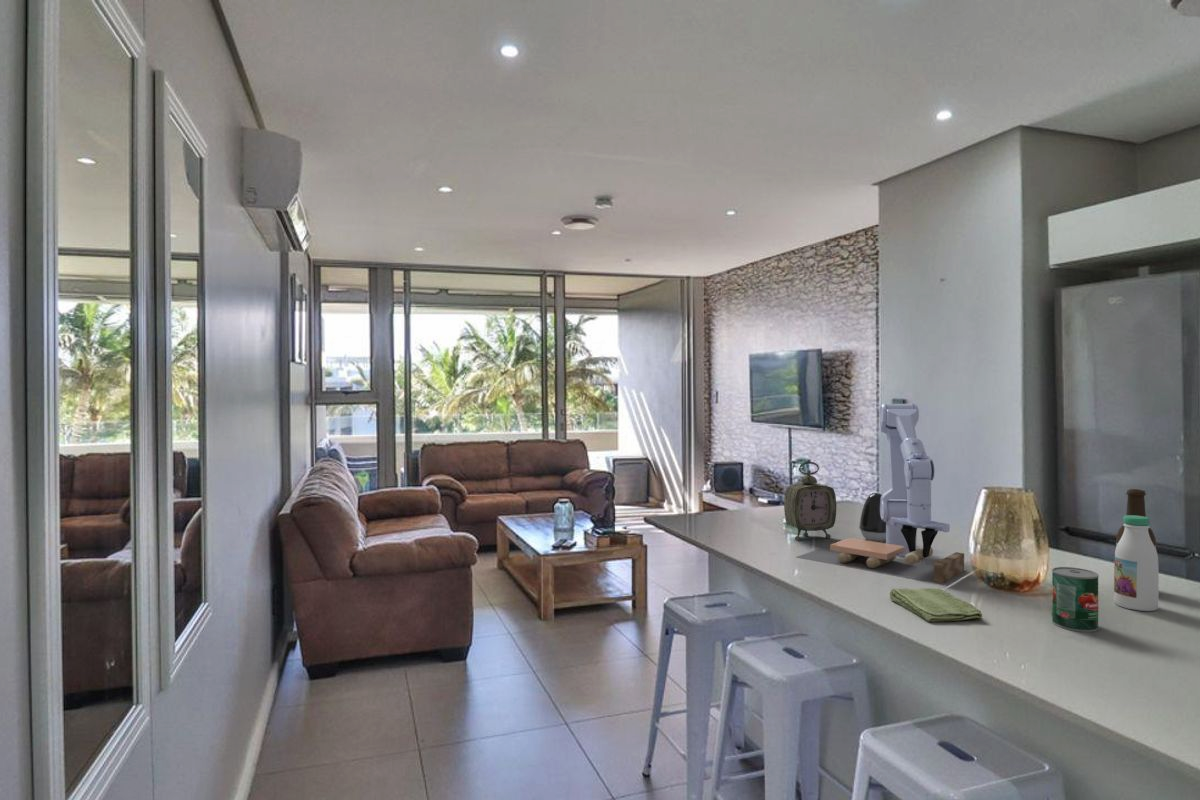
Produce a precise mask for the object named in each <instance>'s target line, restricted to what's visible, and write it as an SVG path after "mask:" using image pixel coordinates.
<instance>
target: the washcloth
mask: <svg viewBox="0 0 1200 800" xmlns="http://www.w3.org/2000/svg"><path fill="white" fill-rule="evenodd" d="M889 599H890V600H891V601H892V602H894V603H896V604H897V605H898V606H900V607H902V608H903V609H906V610H907V611H910V612H912V613H913V614H915V615H917V616H918V617H921V618H922V619H923V620H925V621H926V622H928V623H937V622H938V623H939V622H953V621H954V622H956V621H965V620H982V617H983V613H982V612H981V610H979V609H978V608H977V607H975V606H974V605H973V604H971V603H969V602H968V601H965V600H963V599H961V598H959V597H956V596H954V595H953V594H951V593H950V592H947V591H945V590H943V589H941V588H931V587H929V588H928V587H927V588H922V587H921V588H907V587H906V588H892V589H891V590H890V592H889Z"/></svg>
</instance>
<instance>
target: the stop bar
mask: <svg viewBox="0 0 1200 800" xmlns="http://www.w3.org/2000/svg"><path fill="white" fill-rule="evenodd" d="M933 565H934V582H937V583H944V582H946V581H948V580H949V579H951V578H953V577H954V576H956V575H958V574H960V573H961V572H963V571H964V570H965V553H964V552H958V551H957V552H954V553H952V554H950V555H947V556H945V557H943V558H941V559H940V560H938V561H935V562H934V563H933Z"/></svg>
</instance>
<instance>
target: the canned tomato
mask: <svg viewBox="0 0 1200 800" xmlns="http://www.w3.org/2000/svg"><path fill="white" fill-rule="evenodd" d="M1051 571H1052V573H1051V574H1052V576H1051V579H1052V580H1051V583H1052V586H1051V590H1052V593H1051V594H1052V595H1051V596H1052V597H1051V599H1052V600H1051V602H1052V604H1051V607H1052V608H1051V609H1052V611H1051V615H1052V616H1051V619H1052V620H1051V622H1052V624H1053V625H1055V626H1056V627H1059V628H1061V629H1064V630H1069V631H1074V632H1080V633H1081V632H1082V633H1092V632H1093V633H1094V632H1097V631H1098V630H1099V574H1098V573H1097V572H1095V571H1092V570H1090V569H1087V568H1086V569H1085V568H1080V567H1071V566H1057V567H1053V568H1051Z"/></svg>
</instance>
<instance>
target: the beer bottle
mask: <svg viewBox="0 0 1200 800" xmlns="http://www.w3.org/2000/svg"><path fill="white" fill-rule="evenodd" d="M1125 494H1126V495H1127V503H1126V515H1135V516H1144V517H1147V516H1146V515H1147V514H1146V501H1145V496H1146V495H1147V494H1146V491H1145V490H1143V489H1135V488H1131V489H1127V491H1126V493H1125ZM1126 515H1125V516H1126ZM1124 529H1125V526H1124V525H1121V527H1120V528H1119V529H1118V532H1117V534H1116V538H1115V539H1116V540H1115V547H1116V546H1117V544H1118V542H1119V541H1120V539H1121V537H1122V535H1123V533H1124ZM1148 532H1149V536H1150V538H1151V541H1152V542H1153V544H1154V546H1155V548H1156V549H1157V541H1156V536H1155V533H1154V531H1153V529H1151V527H1150V528H1148Z"/></svg>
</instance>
